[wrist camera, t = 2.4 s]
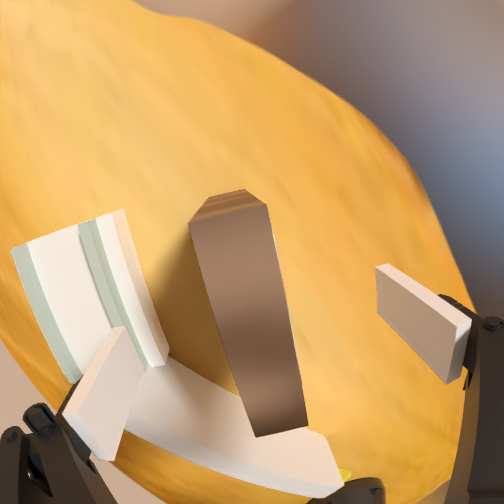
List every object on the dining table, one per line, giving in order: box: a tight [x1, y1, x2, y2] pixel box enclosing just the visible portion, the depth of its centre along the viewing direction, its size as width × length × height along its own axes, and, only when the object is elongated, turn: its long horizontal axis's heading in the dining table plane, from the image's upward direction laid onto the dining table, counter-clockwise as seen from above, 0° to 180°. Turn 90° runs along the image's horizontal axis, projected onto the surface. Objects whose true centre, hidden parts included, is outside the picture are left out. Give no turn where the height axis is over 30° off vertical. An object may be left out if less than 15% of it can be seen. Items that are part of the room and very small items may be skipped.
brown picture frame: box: [188, 189, 309, 438], centre depth 19 cm, size 12×4×14 cm, turn 12°
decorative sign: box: [124, 356, 352, 498], centre depth 26 cm, size 32×4×10 cm, turn 50°
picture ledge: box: [11, 209, 170, 384], centre depth 23 cm, size 14×12×4 cm
